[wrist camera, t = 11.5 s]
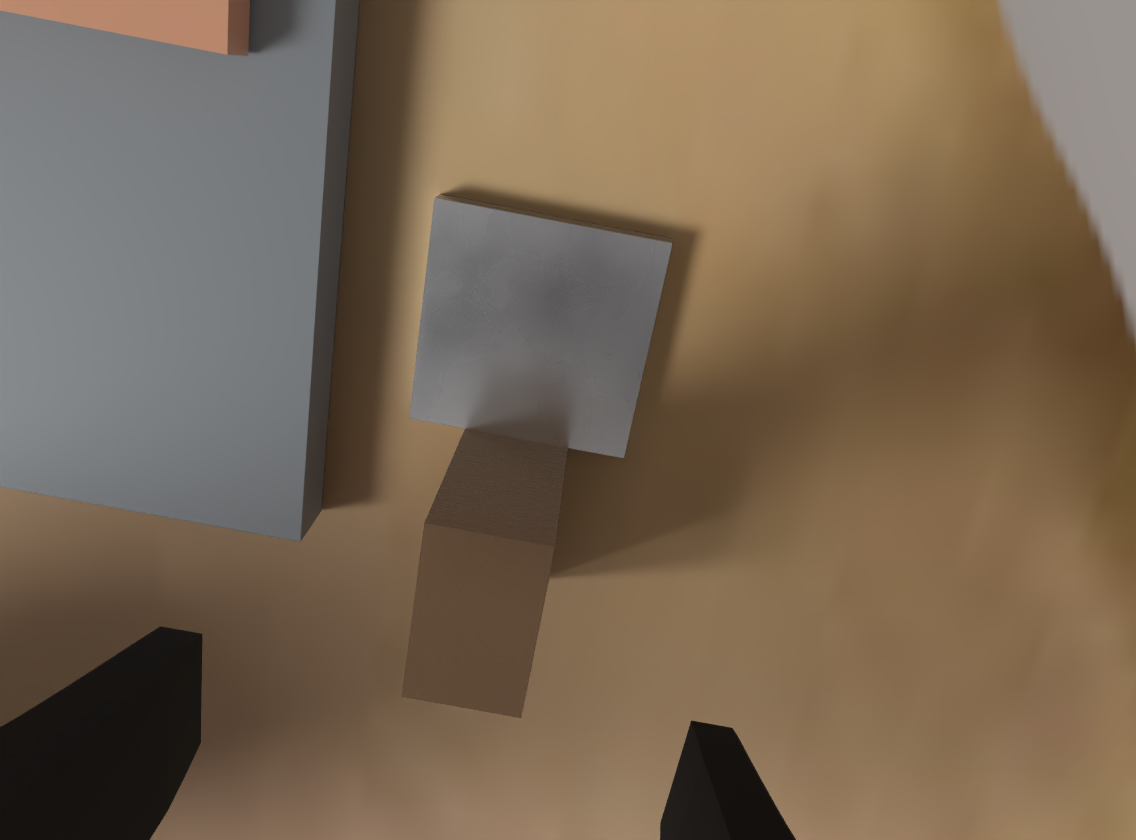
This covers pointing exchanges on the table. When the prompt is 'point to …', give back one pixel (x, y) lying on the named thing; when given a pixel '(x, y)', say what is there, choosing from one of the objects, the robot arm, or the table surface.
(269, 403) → the board
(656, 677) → the table surface
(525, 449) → the turner
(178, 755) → the robot arm
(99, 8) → the tile
